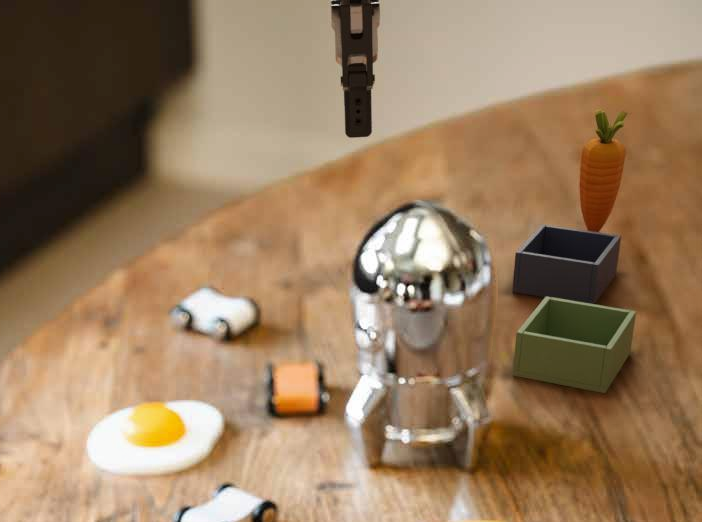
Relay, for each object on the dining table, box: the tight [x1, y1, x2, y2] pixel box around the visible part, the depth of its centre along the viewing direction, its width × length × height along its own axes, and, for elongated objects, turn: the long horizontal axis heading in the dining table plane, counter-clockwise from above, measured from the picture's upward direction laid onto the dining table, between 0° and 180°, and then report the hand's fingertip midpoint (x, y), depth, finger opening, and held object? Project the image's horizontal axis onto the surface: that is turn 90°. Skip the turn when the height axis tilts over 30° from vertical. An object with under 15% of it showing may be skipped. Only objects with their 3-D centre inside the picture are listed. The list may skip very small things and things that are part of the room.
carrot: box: [578, 109, 628, 233], centre depth 142 cm, size 5×5×15 cm
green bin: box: [512, 296, 637, 394], centre depth 118 cm, size 9×9×5 cm
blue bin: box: [511, 223, 622, 304], centre depth 134 cm, size 9×9×5 cm
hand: (357, 122), depth 104 cm, fingers open, 8 cm apart
